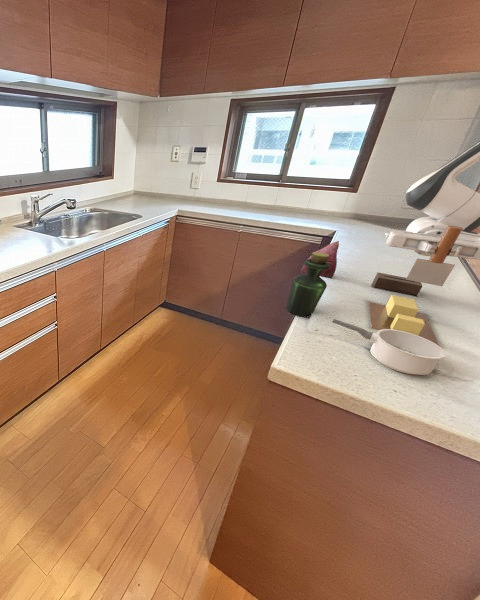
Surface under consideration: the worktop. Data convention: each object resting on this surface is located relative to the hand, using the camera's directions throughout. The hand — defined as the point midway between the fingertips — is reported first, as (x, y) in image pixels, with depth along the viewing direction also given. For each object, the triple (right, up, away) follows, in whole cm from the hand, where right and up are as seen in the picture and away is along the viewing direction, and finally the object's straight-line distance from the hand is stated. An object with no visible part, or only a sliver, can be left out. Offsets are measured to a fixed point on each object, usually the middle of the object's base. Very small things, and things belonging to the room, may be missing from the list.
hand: (443, 251), depth 80 cm
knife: (+1, -7, +5) cm, 9 cm away
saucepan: (-20, -25, -3) cm, 32 cm away
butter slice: (-6, -20, +4) cm, 22 cm away
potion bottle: (-26, -16, +15) cm, 34 cm away
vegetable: (0, -2, +43) cm, 43 cm away
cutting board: (-2, -19, +10) cm, 22 cm away
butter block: (+1, -16, +12) cm, 21 cm away
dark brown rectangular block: (+16, -9, +30) cm, 35 cm away
